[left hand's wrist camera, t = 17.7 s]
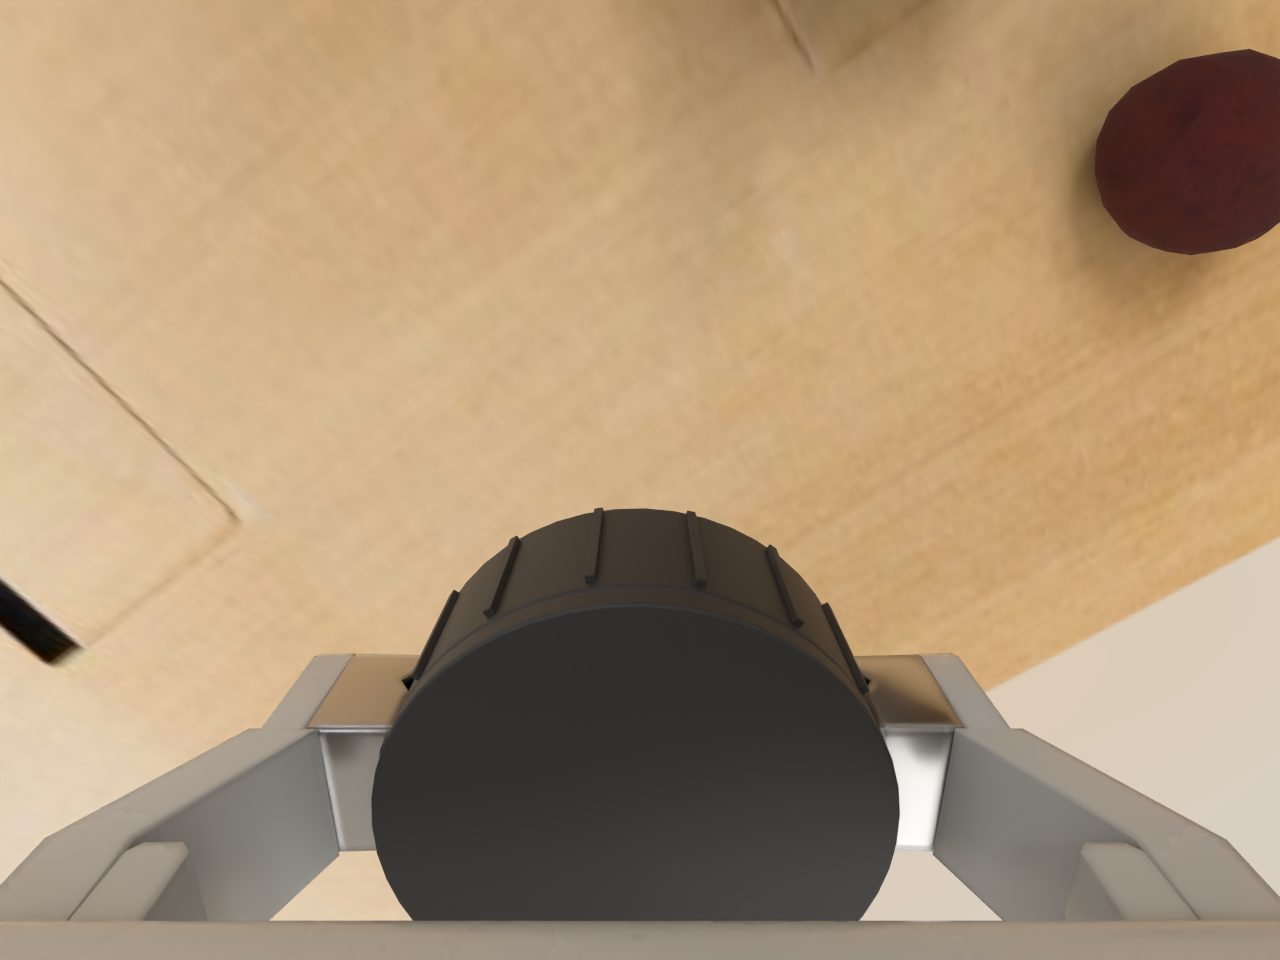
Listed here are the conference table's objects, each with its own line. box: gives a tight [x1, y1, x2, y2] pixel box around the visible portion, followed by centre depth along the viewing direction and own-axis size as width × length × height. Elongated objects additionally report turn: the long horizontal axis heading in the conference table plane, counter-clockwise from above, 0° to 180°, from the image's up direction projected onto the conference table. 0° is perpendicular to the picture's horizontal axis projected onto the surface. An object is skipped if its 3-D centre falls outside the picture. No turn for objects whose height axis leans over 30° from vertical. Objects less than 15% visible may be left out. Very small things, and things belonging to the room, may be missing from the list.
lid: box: [371, 508, 900, 921], centre depth 9 cm, size 6×6×2 cm
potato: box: [1095, 49, 1280, 255], centre depth 30 cm, size 7×8×7 cm
